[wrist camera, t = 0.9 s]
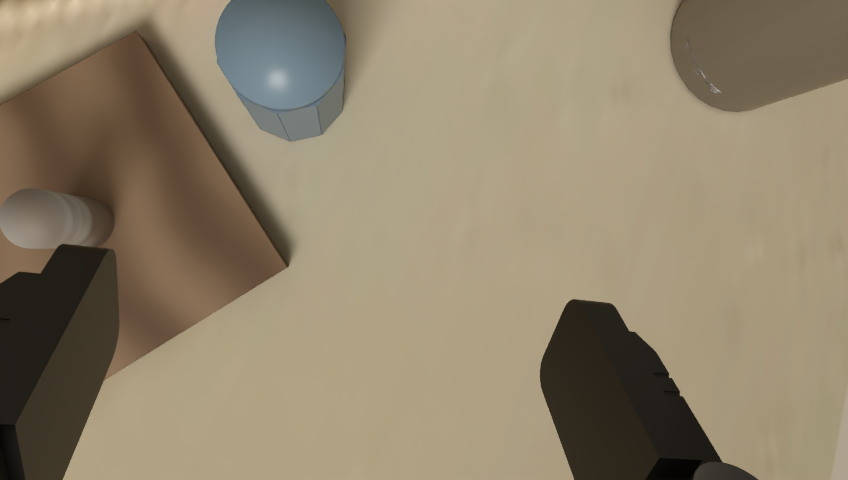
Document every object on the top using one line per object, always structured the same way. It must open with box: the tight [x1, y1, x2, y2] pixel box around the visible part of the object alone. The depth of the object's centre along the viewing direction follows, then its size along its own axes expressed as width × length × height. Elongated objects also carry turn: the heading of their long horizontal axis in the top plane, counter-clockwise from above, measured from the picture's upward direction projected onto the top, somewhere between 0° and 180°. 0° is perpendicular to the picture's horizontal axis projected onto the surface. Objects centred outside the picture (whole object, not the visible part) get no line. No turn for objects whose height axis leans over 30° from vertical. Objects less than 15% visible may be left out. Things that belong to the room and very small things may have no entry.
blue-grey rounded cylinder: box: [215, 0, 346, 142], centre depth 34 cm, size 6×6×9 cm
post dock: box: [0, 32, 289, 380], centre depth 33 cm, size 16×16×8 cm
